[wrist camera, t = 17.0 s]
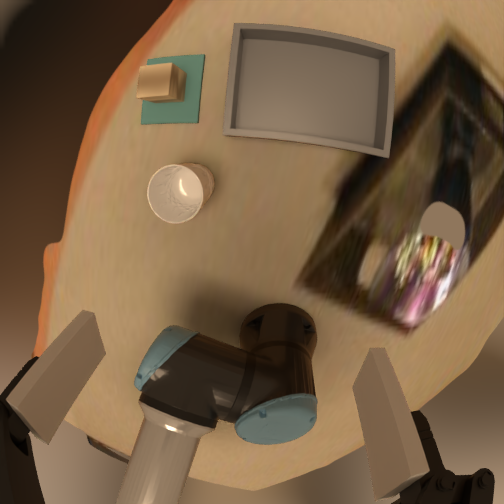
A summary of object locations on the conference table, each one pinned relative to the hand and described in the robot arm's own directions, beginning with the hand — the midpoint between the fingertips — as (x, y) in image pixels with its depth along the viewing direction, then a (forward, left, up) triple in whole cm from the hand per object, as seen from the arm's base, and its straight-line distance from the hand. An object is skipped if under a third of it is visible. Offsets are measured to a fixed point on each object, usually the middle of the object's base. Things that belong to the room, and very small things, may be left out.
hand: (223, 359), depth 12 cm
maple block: (+18, +16, -34) cm, 42 cm away
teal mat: (+18, +16, -35) cm, 42 cm away
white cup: (+2, +11, -35) cm, 37 cm away
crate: (+19, -6, -35) cm, 40 cm away
